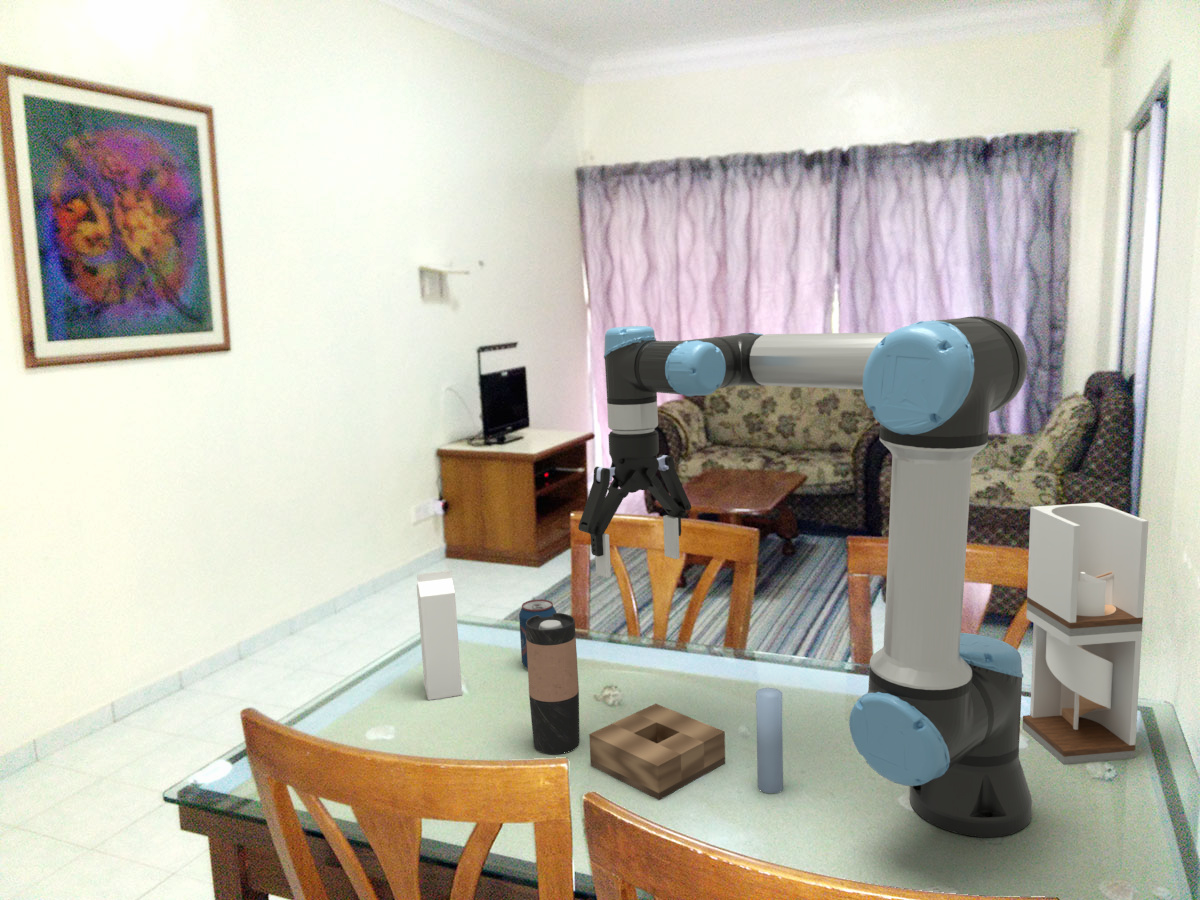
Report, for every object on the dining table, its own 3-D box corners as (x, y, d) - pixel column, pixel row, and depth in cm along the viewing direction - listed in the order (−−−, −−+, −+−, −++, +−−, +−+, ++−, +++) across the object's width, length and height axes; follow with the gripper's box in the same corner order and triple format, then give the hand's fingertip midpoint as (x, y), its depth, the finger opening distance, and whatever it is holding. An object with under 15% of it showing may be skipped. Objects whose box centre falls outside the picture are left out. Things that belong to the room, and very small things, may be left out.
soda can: (519, 661, 185) (515, 600, 183) (555, 656, 187) (552, 596, 184) (525, 675, 178) (521, 612, 176) (562, 670, 180) (559, 608, 178)
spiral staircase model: (1022, 728, 150) (1030, 506, 144) (1088, 722, 151) (1099, 502, 145) (1063, 764, 139) (1074, 526, 133) (1134, 758, 140) (1148, 521, 134)
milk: (462, 695, 171) (454, 574, 167) (427, 701, 169) (418, 579, 165) (457, 682, 177) (449, 565, 173) (423, 687, 175) (415, 568, 171)
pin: (788, 787, 136) (787, 692, 134) (772, 796, 134) (771, 700, 131) (768, 778, 139) (766, 685, 136) (752, 787, 136) (750, 693, 134)
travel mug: (563, 760, 146) (556, 633, 143) (522, 748, 150) (514, 625, 147) (590, 738, 153) (585, 616, 149) (550, 728, 157) (544, 609, 153)
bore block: (725, 763, 143) (724, 731, 142) (659, 799, 134) (657, 766, 133) (656, 733, 154) (655, 703, 153) (590, 765, 144) (589, 734, 143)
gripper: (678, 417, 157) (683, 545, 161) (550, 438, 142) (558, 578, 146) (711, 422, 151) (714, 554, 155) (580, 443, 136) (587, 589, 140)
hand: (638, 566), depth 150 cm, fingers open, 13 cm apart
